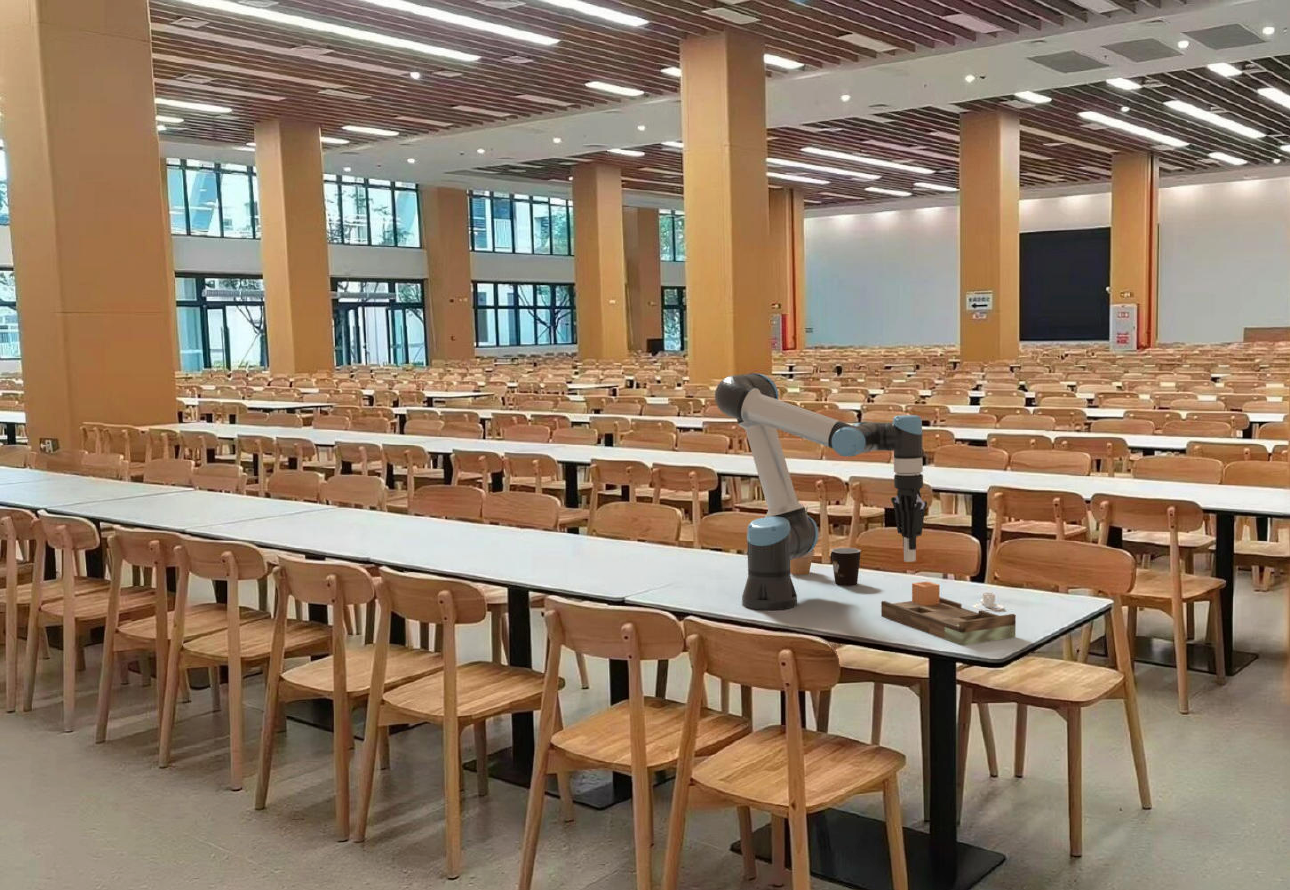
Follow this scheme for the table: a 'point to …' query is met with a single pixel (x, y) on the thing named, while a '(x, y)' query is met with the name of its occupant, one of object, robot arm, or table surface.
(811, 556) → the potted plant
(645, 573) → the table surface
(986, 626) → the board
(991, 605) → the teacup and saucer
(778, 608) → the robot arm
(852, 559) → the coffee mug
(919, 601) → the block
